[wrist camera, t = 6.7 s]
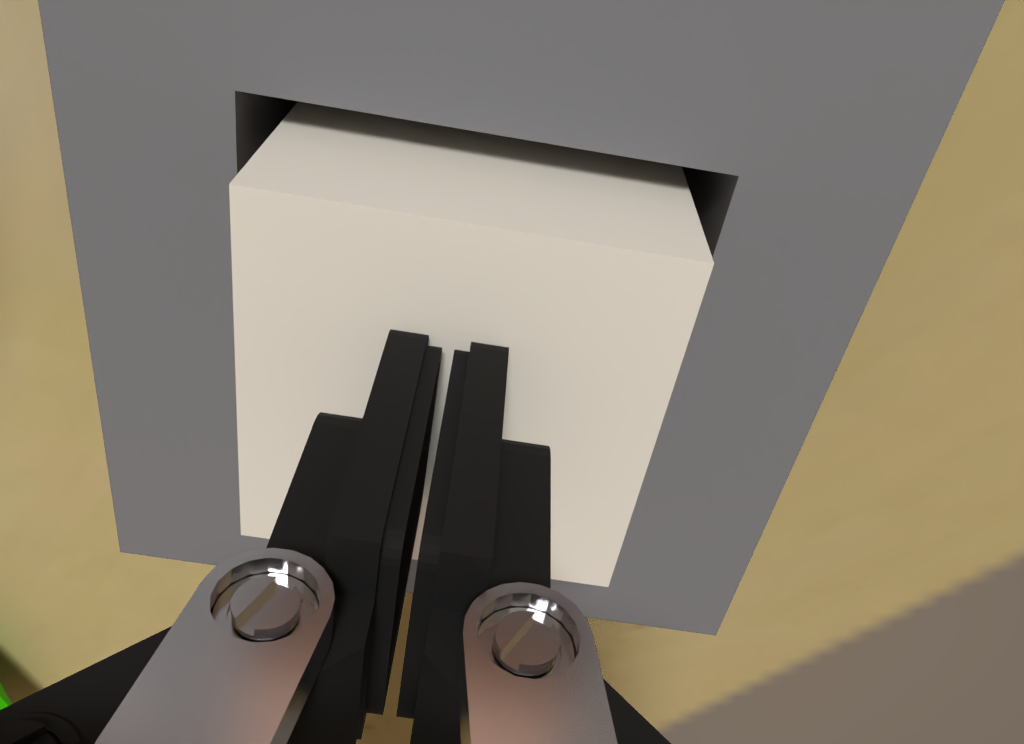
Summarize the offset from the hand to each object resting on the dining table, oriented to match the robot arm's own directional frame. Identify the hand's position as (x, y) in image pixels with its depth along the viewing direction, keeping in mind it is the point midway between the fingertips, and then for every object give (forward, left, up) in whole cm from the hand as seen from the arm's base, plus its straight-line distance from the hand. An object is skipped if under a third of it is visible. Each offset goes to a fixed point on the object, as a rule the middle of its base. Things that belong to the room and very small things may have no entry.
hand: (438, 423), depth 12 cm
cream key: (0, 0, -6) cm, 6 cm away
